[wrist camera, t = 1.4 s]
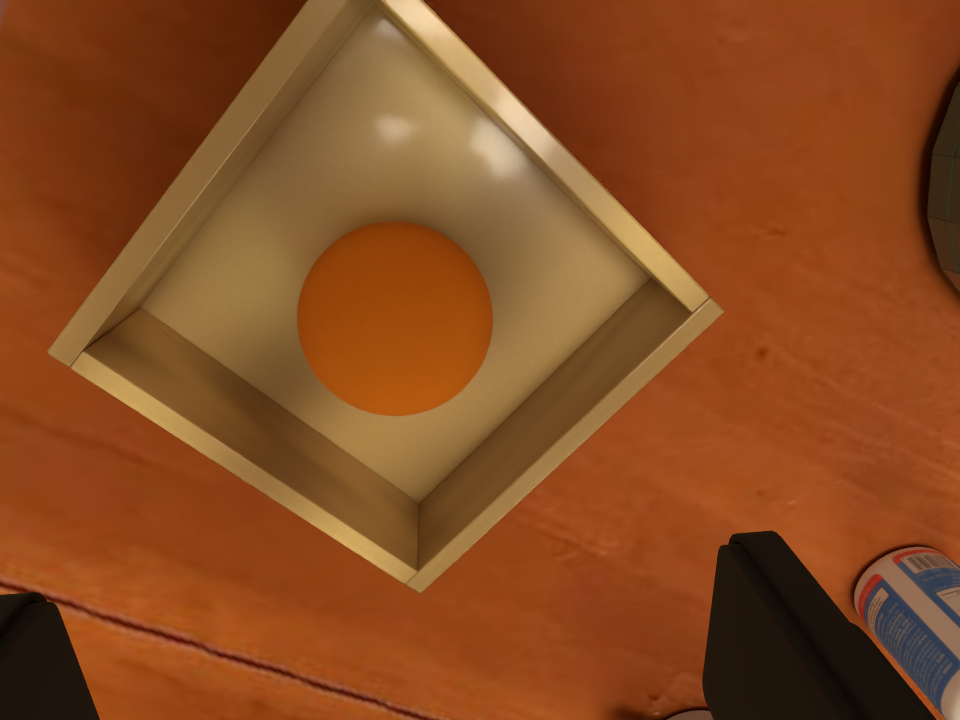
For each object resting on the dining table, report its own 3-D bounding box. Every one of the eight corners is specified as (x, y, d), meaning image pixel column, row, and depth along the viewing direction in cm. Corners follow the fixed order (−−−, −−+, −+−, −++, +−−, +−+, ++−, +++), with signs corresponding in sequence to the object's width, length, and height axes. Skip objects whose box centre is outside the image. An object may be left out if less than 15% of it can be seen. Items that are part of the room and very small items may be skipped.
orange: (279, 298, 25) (231, 366, 19) (389, 167, 23) (375, 195, 17) (410, 398, 27) (405, 489, 21) (519, 285, 25) (548, 346, 19)
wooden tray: (117, 303, 25) (45, 353, 20) (372, -34, 21) (357, -69, 17) (421, 515, 30) (420, 595, 25) (672, 272, 26) (725, 311, 21)
